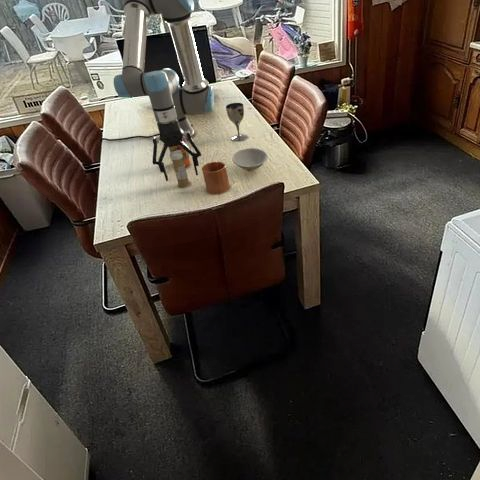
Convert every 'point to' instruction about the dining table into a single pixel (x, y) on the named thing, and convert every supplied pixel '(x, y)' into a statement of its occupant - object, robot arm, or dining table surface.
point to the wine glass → (236, 117)
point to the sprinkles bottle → (179, 168)
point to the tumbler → (215, 177)
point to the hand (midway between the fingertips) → (182, 176)
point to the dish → (249, 158)
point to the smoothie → (184, 152)
